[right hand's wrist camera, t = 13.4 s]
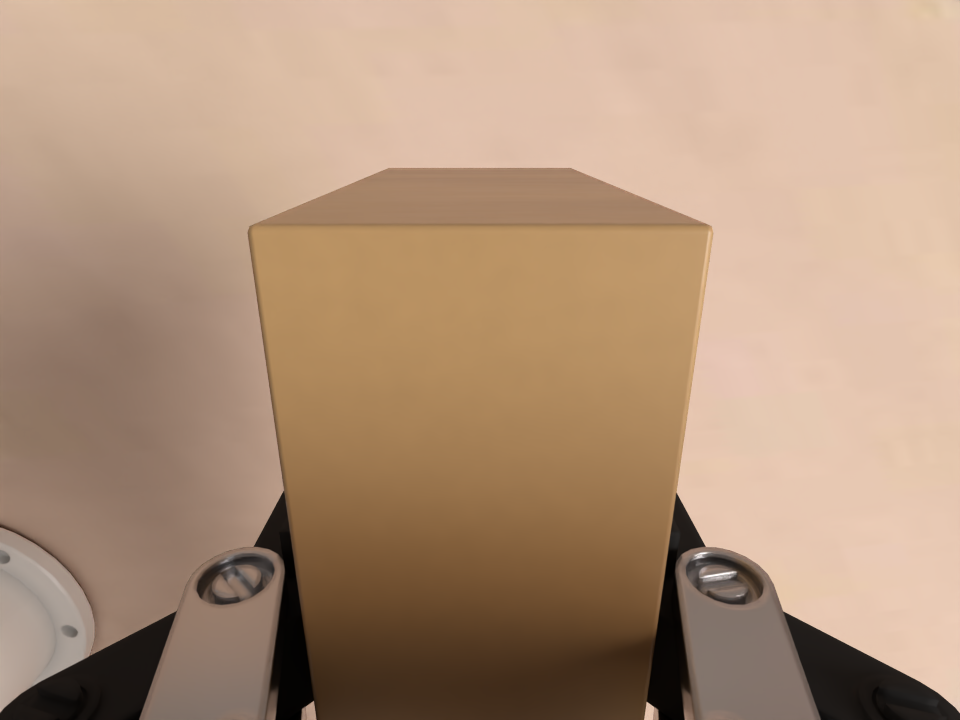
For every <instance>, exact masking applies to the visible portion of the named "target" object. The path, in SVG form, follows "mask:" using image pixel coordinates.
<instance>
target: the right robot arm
mask: <svg viewBox="0 0 960 720" xmlns="http://www.w3.org/2000/svg"><path fill="white" fill-rule="evenodd" d="M94 640H95V622H94V618H93V614H92V609H91V606H90V604H89V602H88V600H87V598H86V596H85V594H84V592H83V590H82V588H81V587H80V586H79V584H78V583H77V581H76V580H75V579H74V577H73V576H72V575H71V573H70V572H69V571H68V570H67V569H66V568H65V567H64V566H63V565H62V564H61V563H59V562H58V561H57V560H56V559H55V558H54V557H53V556H52V555H50V554H49V553H47V552H46V551H45V550H43V549H42V548H41V547H39V546H38V545H36V544H35V543H33V542H31V541H29V540H27V539H25V538H24V537H22V536H20V535H18V534H16V533H14V532H12V531H9V530H6V529H4V528H1V527H0V720H307V715H306V706H307V705H308V704H310V703H311V702H313V701H314V697H313V690H312V683H311V676H310V669H309V662H308V655H307V648H306V641H305V634H304V627H303V620H302V613H301V606H300V598H299V591H298V584H297V577H296V570H295V563H294V556H293V549H292V542H291V535H290V528H289V521H288V514H287V507H286V500H285V493H284V491H283V493H282V495H281V497H280V499H279V501H278V503H277V504H276V506H275V508H274V510H273V512H272V514H271V516H270V517H269V519H268V521H267V523H266V525H265V527H264V529H263V530H262V532H261V534H260V536H259V538H258V540H257V542H256V543H255V545H254V547H244V548H239V549H235V550H230V551H227V552H225V553H222V554H220V555H217V556H215V557H213V558H212V559H210V560H209V561H207V562H205V563H204V564H202V565H201V566H200V567H199V568H198V569H197V570H196V571H195V572H194V573H193V574H192V575H191V577H190V579H189V581H188V582H187V584H186V587H185V590H184V593H183V595H182V598H181V601H180V604H179V607H178V610H177V611H176V612H174V613H172V614H170V615H168V616H166V617H164V618H163V619H161V620H159V621H157V622H155V623H153V624H151V625H149V626H147V627H145V628H143V629H141V630H139V631H137V632H135V633H133V634H132V635H130V636H128V637H126V638H124V639H122V640H120V641H118V642H116V643H114V644H112V645H110V646H108V647H106V648H104V649H102V650H101V651H99V652H97V653H95V654H93V655H91V656H89V655H90V653H91V650H92V647H93V643H94ZM647 702H648V703H650V704H651V705H652V706H654V715H653V720H960V713H959V712H958V711H957V709H956V708H955V707H954V706H953V705H951V704H950V703H949V702H948V701H947V700H946V699H944V698H943V697H942V696H941V695H940V694H938V693H937V692H935V691H934V690H932V689H930V688H929V687H927V686H926V685H924V684H922V683H921V682H919V681H917V680H915V679H913V678H911V677H909V676H907V675H906V674H904V673H902V672H900V671H898V670H896V669H894V668H892V667H890V666H888V665H886V664H884V663H882V662H880V661H878V660H876V659H874V658H873V657H871V656H869V655H867V654H865V653H863V652H861V651H859V650H857V649H855V648H853V647H851V646H849V645H847V644H845V643H843V642H842V641H840V640H838V639H836V638H834V637H832V636H830V635H828V634H826V633H824V632H822V631H820V630H818V629H816V628H814V627H812V626H810V625H809V624H807V623H805V622H803V621H801V620H799V619H797V618H795V617H793V616H791V615H789V614H787V613H785V612H783V610H782V607H781V604H780V601H779V598H778V596H777V593H776V590H775V587H774V584H773V582H772V581H771V579H770V577H769V575H768V574H767V573H766V572H765V571H764V570H763V569H762V568H761V567H760V566H759V565H758V564H756V563H755V562H753V561H751V560H750V559H748V558H747V557H745V556H743V555H740V554H738V553H735V552H733V551H730V550H725V549H721V548H716V547H706V546H705V545H704V543H703V541H702V539H701V537H700V535H699V534H698V532H697V530H696V528H695V526H694V524H693V522H692V521H691V519H690V517H689V515H688V513H687V511H686V509H685V508H684V506H683V504H682V502H681V500H680V498H679V496H678V495H677V493H676V498H675V505H674V512H673V519H672V526H671V533H670V540H669V547H668V554H667V561H666V568H665V575H664V582H663V590H662V597H661V604H660V611H659V618H658V625H657V632H656V639H655V646H654V653H653V660H652V667H651V674H650V681H649V688H648V695H647Z"/></svg>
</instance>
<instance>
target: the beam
mask: <svg viewBox="0 0 960 720" xmlns="http://www.w3.org/2000/svg"><path fill="white" fill-rule="evenodd" d="M712 238H713V230H712V226H710V225H707V224H705V223H703V222H700V221H698V220H695V219H693V218H691V217H688V216H686V215H683V214H681V213H678V212H676V211H674V210H671V209H669V208H666V207H664V206H661V205H659V204H657V203H654V202H652V201H649V200H647V199H644V198H642V197H639V196H637V195H635V194H632V193H630V192H627V191H625V190H622V189H620V188H618V187H615V186H613V185H610V184H608V183H605V182H603V181H601V180H598V179H596V178H593V177H591V176H588V175H586V174H584V173H581V172H579V171H576V170H574V169H571V168H388V169H386V170H383V171H381V172H378V173H376V174H374V175H371V176H369V177H366V178H364V179H362V180H359V181H357V182H354V183H352V184H350V185H347V186H345V187H342V188H340V189H338V190H335V191H333V192H330V193H328V194H326V195H323V196H321V197H318V198H316V199H314V200H311V201H309V202H306V203H304V204H302V205H299V206H297V207H294V208H292V209H290V210H287V211H285V212H282V213H280V214H278V215H275V216H273V217H270V218H268V219H266V220H263V221H261V222H258V223H256V224H254V225H252V226H249V230H248V239H249V246H250V253H251V260H252V267H253V274H254V281H255V288H256V295H257V302H258V309H259V316H260V323H261V330H262V337H263V344H264V352H265V359H266V366H267V373H268V380H269V387H270V394H271V401H272V408H273V415H274V422H275V429H276V436H277V443H278V450H279V457H280V464H281V471H282V479H283V486H284V493H285V500H286V507H287V514H288V521H289V528H290V535H291V542H292V549H293V556H294V563H295V570H296V577H297V584H298V591H299V598H300V606H301V613H302V620H303V627H304V634H305V641H306V648H307V655H308V662H309V669H310V676H311V683H312V690H313V697H314V704H315V711H316V718H317V720H644V716H645V709H646V702H647V695H648V688H649V681H650V674H651V667H652V660H653V653H654V646H655V639H656V632H657V625H658V618H659V611H660V604H661V597H662V590H663V582H664V575H665V568H666V561H667V554H668V547H669V540H670V533H671V526H672V519H673V512H674V505H675V498H676V491H677V484H678V477H679V470H680V463H681V456H682V449H683V442H684V435H685V428H686V421H687V414H688V407H689V400H690V393H691V386H692V379H693V372H694V365H695V358H696V351H697V344H698V337H699V330H700V322H701V315H702V308H703V301H704V294H705V287H706V280H707V273H708V266H709V259H710V252H711V245H712Z"/></svg>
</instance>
